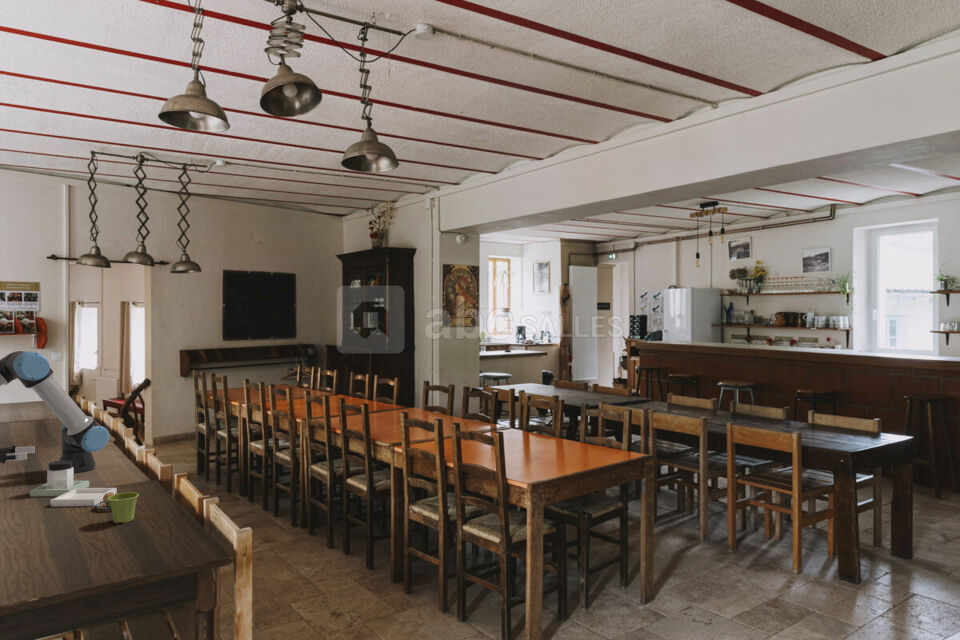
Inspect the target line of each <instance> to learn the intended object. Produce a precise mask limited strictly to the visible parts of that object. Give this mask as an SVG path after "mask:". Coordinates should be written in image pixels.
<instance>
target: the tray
mask: <svg viewBox="0 0 960 640" xmlns="http://www.w3.org/2000/svg"><path fill="white" fill-rule="evenodd" d="M117 490H118V489H117V487H87V488H75V489H73V490H71V491H69V492H67V493H65V494H62V495H60V496H55V497H54V498H52V499H50V507H95V505H96V504H98V503H100V502H102V501H103V497H104V495H105V494H106V493H109V492H113V493H114V495H115V494H118V493H117V492H118V491H117ZM103 502H104V501H103Z"/></svg>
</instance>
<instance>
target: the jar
mask: <svg viewBox="0 0 960 640" xmlns="http://www.w3.org/2000/svg"><path fill="white" fill-rule="evenodd" d="M46 474H47V476H46V480H47V481H46V483H47V489H68V488H70V487H72V486H74V481H75V480H74V474H75V473H74V467H72V461H71V460H60V459H59V460H54V461H51V462H49V463H48V469H47V470H46Z"/></svg>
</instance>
